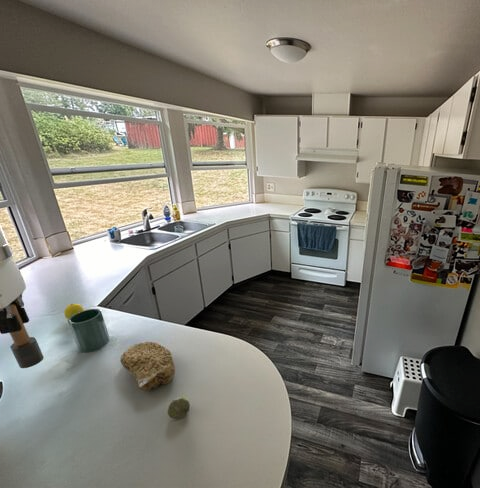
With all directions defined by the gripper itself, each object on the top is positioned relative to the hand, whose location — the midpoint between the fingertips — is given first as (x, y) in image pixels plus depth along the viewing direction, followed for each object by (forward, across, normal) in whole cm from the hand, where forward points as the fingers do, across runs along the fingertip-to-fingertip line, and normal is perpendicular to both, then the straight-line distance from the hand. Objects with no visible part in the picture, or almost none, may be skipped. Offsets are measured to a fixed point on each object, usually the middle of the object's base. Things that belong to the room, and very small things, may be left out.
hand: (15, 326), depth 58 cm
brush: (+11, 0, 0) cm, 11 cm away
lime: (+26, +16, +31) cm, 44 cm away
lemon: (+27, -44, -8) cm, 53 cm away
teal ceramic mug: (+27, -26, +2) cm, 37 cm away
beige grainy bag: (+27, -4, +22) cm, 34 cm away
